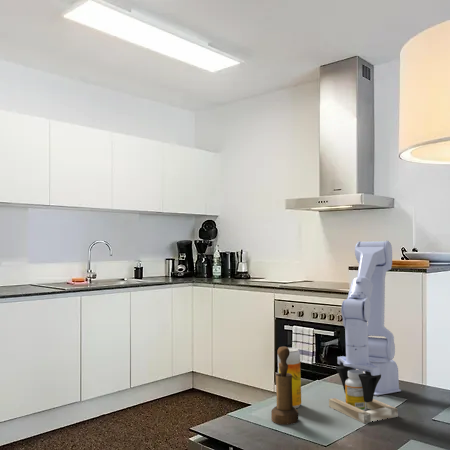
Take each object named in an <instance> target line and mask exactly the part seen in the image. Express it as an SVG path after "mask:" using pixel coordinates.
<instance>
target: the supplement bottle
mask: <svg viewBox="0 0 450 450" xmlns="http://www.w3.org/2000/svg"><path fill="white" fill-rule="evenodd" d="M359 374H364V371H361V370H358V369H356V370H349V371H348V377H349V378H348V379H346V381H345V392H344V394H345V393H346V394H345V403H347V404H350V405H352V406H354V407H356V408H359V409H361V410H363V411H368V408H367V402H364V397H363V388H362V384H361V380H360V378H359Z"/></svg>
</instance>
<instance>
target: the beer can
mask: <svg viewBox="0 0 450 450" xmlns="http://www.w3.org/2000/svg"><path fill="white" fill-rule="evenodd" d="M287 348H288V349H289V352H290V353H289V356H288V358H287V361H286V363H287V364H288V370H287V373H290V374H292V404H293V407H295V409H297V408H299V407H300V406H301V404H302V377H301V376H302V375H301V374H302V373H301V372H302V371H301V368H302V367H301V353H300V350H299V348H296V347H287ZM280 363H281V360H280V358H279V356H278V355H277V374H278V373H281V372H280V368H279V364H280Z"/></svg>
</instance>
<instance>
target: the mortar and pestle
mask: <svg viewBox="0 0 450 450" xmlns="http://www.w3.org/2000/svg"><path fill="white" fill-rule="evenodd" d="M288 348H289V347H288V346H285V345H283V346H279V347H278V349H277V357H278V356H279V358H280V360H281V363H280V364H279V368H280V372H281V373H278V372H277V373H276V374H275V386H276V388H275V389H276V406H274V407H273V408H272V409H271V422H273V423H275V424H278V425H284V426H287V425H294V424H297V423H298V422H299V410H298V409H297V408H295V407H293V404H292V374H290V373H287V370H288V364H287V363H286V361H287V358H288V356H289V353H290V352H289V349H288Z"/></svg>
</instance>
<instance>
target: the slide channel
mask: <svg viewBox="0 0 450 450" xmlns="http://www.w3.org/2000/svg"><path fill="white" fill-rule="evenodd" d="M328 407H329V408H331V409H333V410H335V411H337V412H340V413H342V414H344V415H345V416H348V417H350V418H351V419H354V420H356V421H359V422H360V423H363V424H368V423H373V422H378V421H383V420H388V419H392V418H396V417H397V418H398V408H397V407H395V406H393V405H389V404H387V403H385V402H382V401H380V400H377V399H375V398H373V401H372V402H367V409H369V410H366V411H363V410H361V409H359V408H356V407H354V406H352V405H350V404H347V403H346V401H342V400H340V399H338V398H336V397H334V398H329V399H328ZM387 418H388V419H387ZM382 419H383V420H382ZM377 420H378V421H377ZM372 421H373V422H372Z"/></svg>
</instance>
